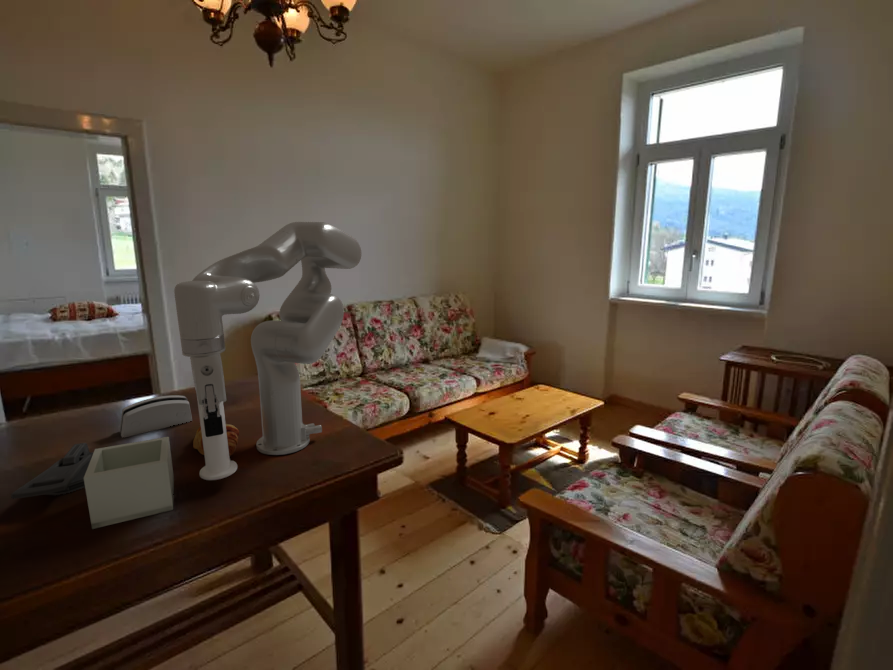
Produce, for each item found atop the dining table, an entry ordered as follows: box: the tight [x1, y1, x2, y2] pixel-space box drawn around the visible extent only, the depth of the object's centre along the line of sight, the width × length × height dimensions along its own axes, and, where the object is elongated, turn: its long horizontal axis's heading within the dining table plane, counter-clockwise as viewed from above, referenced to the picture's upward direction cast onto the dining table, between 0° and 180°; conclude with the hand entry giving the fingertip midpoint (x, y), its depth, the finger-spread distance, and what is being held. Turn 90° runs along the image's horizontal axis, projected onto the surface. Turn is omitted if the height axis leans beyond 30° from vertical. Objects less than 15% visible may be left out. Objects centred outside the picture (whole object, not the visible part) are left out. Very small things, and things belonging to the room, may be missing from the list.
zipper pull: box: [10, 442, 94, 500], centre depth 93 cm, size 9×7×25 cm
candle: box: [196, 369, 238, 481], centre depth 92 cm, size 7×7×25 cm
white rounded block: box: [119, 394, 193, 438], centre depth 122 cm, size 17×5×10 cm, turn 133°
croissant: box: [192, 423, 240, 457], centre depth 112 cm, size 21×10×8 cm, turn 39°
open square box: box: [84, 436, 175, 530], centre depth 88 cm, size 12×12×10 cm
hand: (213, 430), depth 93 cm, fingers closed on candle, 3 cm apart
